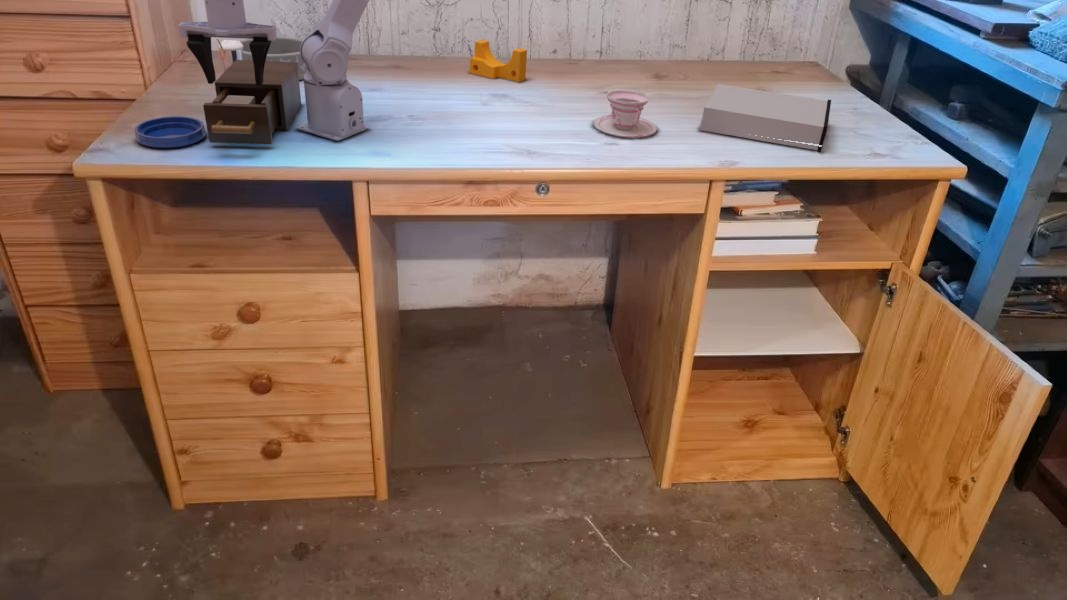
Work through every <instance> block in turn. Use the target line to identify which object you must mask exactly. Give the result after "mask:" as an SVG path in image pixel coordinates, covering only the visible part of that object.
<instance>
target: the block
mask: <svg viewBox="0 0 1067 600" xmlns="http://www.w3.org/2000/svg"><path fill="white" fill-rule="evenodd" d="M222 103H228V104H255V97H254V96H232V95H228V96H227V97H226V98H225V99H224V101H223V102H222Z"/></svg>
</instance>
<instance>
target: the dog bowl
mask: <svg viewBox="0 0 1067 600" xmlns="http://www.w3.org/2000/svg"><path fill="white" fill-rule="evenodd" d="M303 40H304V39H301V38H297V37H290V36H278V35H277V38H276V40H275V41H271V44H270V47H269V50H268V53H267V57H266V61H274V62H297V67H298V76H299V81H301V80H304V78H303V76H304V74H305V73H306V70H307V68H308V66H307V65H306V64H305V63H304V62H303V60H302V58H301V55H300V47H301V44H302V42H303ZM239 41H240V42H241V43H242V44H243V46H244V60H249V61H253V58H252V54H251V50H250V47H249V44H250V43H251V41H253V39H244V38H243V39H242V40H239Z"/></svg>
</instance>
